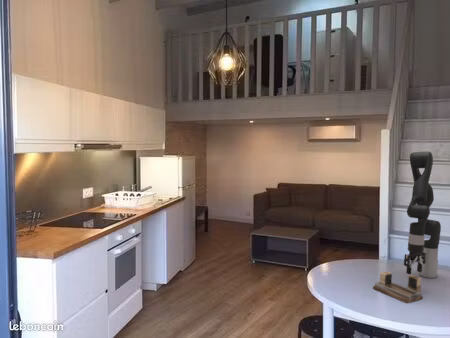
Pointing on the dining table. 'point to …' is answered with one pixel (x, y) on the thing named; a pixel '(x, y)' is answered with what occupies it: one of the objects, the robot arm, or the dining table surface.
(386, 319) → the dining table surface
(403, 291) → the rail base
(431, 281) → the dining table surface
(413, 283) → the maple finger
